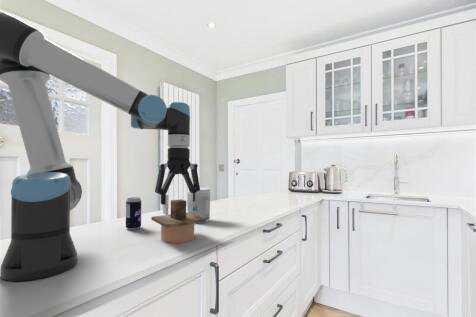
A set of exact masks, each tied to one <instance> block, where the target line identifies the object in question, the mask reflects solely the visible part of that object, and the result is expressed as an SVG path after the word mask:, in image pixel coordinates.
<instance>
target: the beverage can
mask: <svg viewBox="0 0 476 317" xmlns="http://www.w3.org/2000/svg"><path fill="white" fill-rule="evenodd" d="M141 227H142V200H141V197H139V196H138V197H137V196H136V197H135V196H134V197H133V196H132V197H127V198H126V200H125V228H126V229H127V230H130V231H136V230H139V229H140V228H141Z"/></svg>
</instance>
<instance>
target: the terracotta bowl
mask: <svg viewBox="0 0 476 317" xmlns="http://www.w3.org/2000/svg"><path fill="white" fill-rule="evenodd" d="M160 233H161V234H160V240H161V241H163V242H164V243H171V244H176V243H179V244H180V243H185V242H190V241H192V240H194V239H195V224H189V225H182V226H176V227H169V228H166V227H164V226H162V225H160Z"/></svg>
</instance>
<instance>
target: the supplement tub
mask: <svg viewBox="0 0 476 317" xmlns="http://www.w3.org/2000/svg"><path fill="white" fill-rule="evenodd" d="M188 193H190V191H188ZM210 211H211V188H209V187H200V190H199V191H197V192H196V193H195V201H194V202H193V212H190V211H188V210H187V212H188V213H191V214H194V215H196V216H199V217H202V218H205V219H206V222H202V223H201V224H206V223H207V222H209V221H210V218H211V216H210V214H211V213H210Z"/></svg>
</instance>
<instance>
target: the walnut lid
mask: <svg viewBox="0 0 476 317" xmlns="http://www.w3.org/2000/svg"><path fill="white" fill-rule="evenodd" d="M150 219H151V221H153V222H154V223H157V224H159V225H160V226H161V225H162V226H164V227H166V228H169V227H176V226H182V225H189V224H194V225H195V224H203V223H202V222H206V219H205V218H202V217H199V216H196V215H194V214H191V213H188V211H187V200H185V199H172V200H170V214H168V215H165V214H163V215H156V216H151V218H150ZM206 223H207V222H206Z"/></svg>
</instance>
